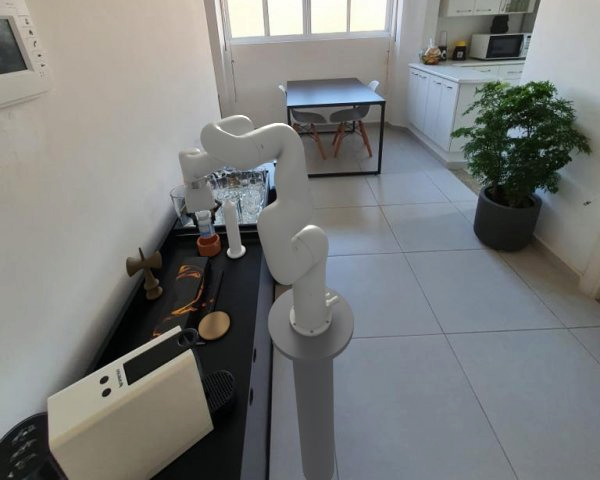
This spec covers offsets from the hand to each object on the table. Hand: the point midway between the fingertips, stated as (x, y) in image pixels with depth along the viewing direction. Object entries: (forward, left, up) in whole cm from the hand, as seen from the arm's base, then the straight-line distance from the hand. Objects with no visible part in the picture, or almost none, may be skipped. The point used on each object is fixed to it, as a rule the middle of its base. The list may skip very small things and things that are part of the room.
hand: (205, 223), depth 118 cm
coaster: (+10, +34, -13) cm, 38 cm away
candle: (-8, +7, -13) cm, 17 cm away
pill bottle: (0, 0, -5) cm, 5 cm away
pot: (0, 0, -13) cm, 13 cm away
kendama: (+23, +11, -13) cm, 28 cm away
